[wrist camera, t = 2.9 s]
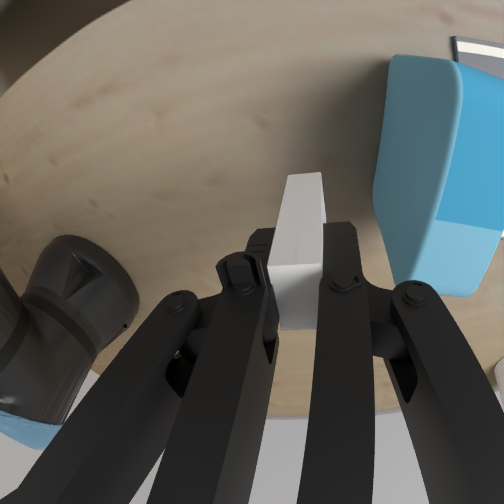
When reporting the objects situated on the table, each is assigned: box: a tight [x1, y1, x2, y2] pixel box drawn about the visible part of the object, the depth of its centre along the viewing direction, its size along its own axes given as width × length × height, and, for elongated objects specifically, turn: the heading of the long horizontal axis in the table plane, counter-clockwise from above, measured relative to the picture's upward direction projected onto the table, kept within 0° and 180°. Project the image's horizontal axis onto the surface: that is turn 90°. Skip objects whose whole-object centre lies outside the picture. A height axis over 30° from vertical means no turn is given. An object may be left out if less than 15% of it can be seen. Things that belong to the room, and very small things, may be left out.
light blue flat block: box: [372, 54, 504, 297], centre depth 16 cm, size 12×4×12 cm, turn 0°
